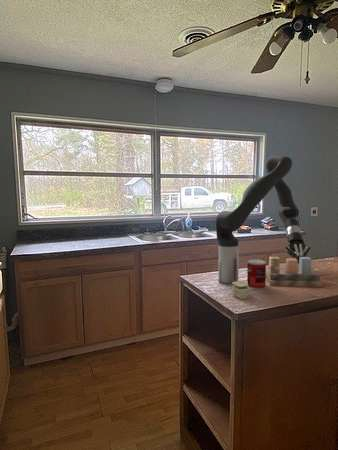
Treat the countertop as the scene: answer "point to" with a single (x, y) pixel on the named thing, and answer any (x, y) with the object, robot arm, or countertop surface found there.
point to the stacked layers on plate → (240, 289)
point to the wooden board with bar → (294, 279)
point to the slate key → (304, 265)
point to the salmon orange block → (291, 266)
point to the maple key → (274, 265)
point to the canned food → (256, 273)
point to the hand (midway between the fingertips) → (301, 263)
